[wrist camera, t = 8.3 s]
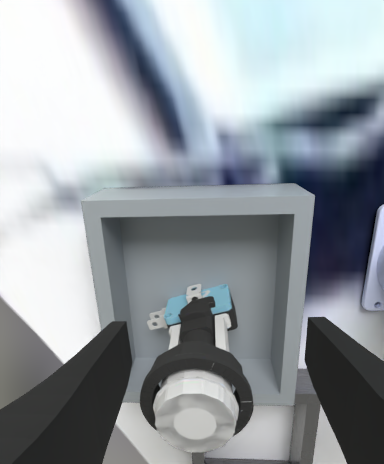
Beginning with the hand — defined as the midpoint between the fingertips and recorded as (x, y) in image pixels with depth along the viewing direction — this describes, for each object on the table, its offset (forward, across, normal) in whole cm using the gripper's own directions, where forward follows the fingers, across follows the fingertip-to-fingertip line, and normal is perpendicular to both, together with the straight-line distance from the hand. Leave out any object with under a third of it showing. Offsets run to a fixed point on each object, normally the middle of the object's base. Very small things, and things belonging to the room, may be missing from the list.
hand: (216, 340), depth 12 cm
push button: (+10, +2, +4) cm, 11 cm away
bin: (+10, +1, +3) cm, 11 cm away
